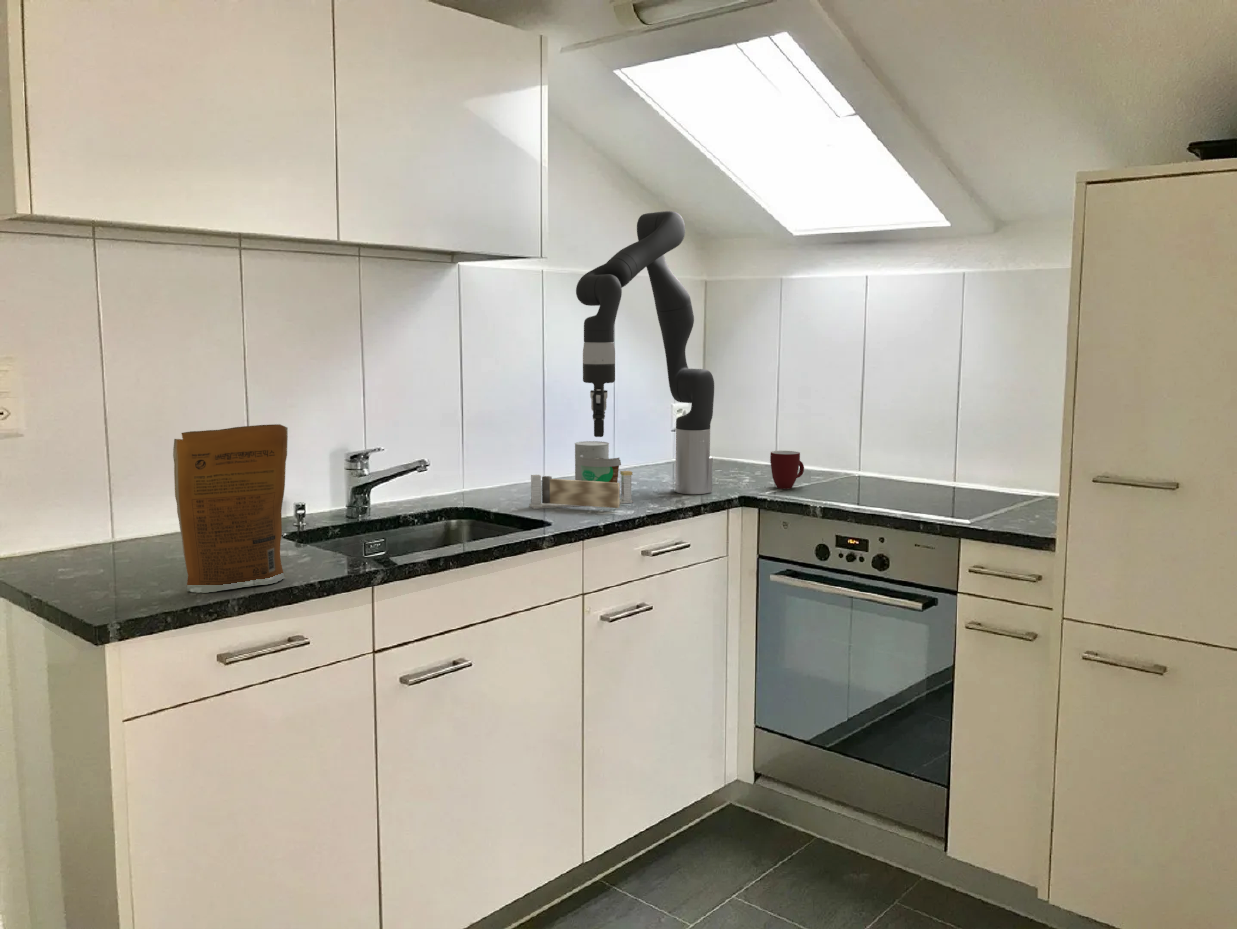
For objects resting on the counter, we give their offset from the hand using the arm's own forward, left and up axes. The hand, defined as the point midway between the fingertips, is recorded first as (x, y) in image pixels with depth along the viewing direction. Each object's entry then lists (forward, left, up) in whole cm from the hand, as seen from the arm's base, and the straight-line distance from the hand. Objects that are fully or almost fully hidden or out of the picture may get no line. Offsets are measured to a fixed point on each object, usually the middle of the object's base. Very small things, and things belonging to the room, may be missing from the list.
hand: (599, 435), depth 234 cm
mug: (-63, -22, -19) cm, 69 cm away
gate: (+2, -10, -18) cm, 21 cm away
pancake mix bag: (+79, +40, -19) cm, 91 cm away
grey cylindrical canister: (-12, -41, -19) cm, 46 cm away
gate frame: (-1, -16, -19) cm, 25 cm away
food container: (-9, -29, -19) cm, 36 cm away
